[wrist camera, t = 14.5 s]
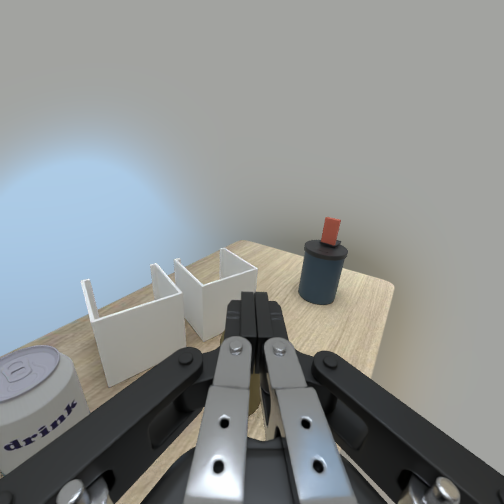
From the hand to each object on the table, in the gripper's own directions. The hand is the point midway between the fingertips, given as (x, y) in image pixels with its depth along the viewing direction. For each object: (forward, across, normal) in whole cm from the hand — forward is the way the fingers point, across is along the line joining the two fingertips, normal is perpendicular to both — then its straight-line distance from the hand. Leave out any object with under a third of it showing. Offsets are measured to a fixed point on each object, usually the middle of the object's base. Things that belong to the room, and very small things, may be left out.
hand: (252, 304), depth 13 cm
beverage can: (+3, +19, +22) cm, 29 cm away
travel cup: (+35, -18, +22) cm, 45 cm away
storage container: (+22, +11, +22) cm, 33 cm away
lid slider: (+37, -19, +10) cm, 42 cm away
